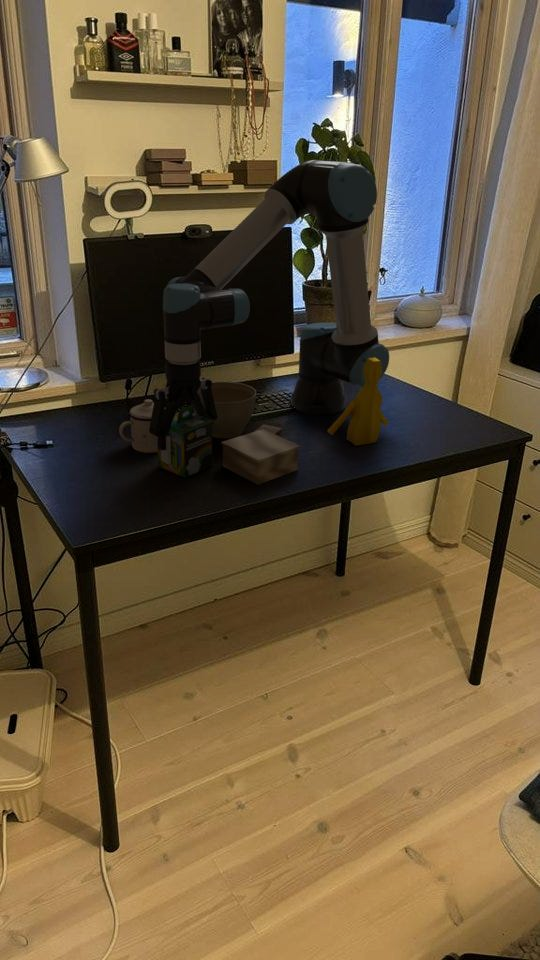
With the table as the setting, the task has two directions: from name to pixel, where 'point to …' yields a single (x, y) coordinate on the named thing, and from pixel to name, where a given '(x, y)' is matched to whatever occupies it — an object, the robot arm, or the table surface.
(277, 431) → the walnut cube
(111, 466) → the table surface
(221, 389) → the planter bowl
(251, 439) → the plinth
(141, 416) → the teacup with lid
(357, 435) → the figure statuette
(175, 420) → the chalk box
